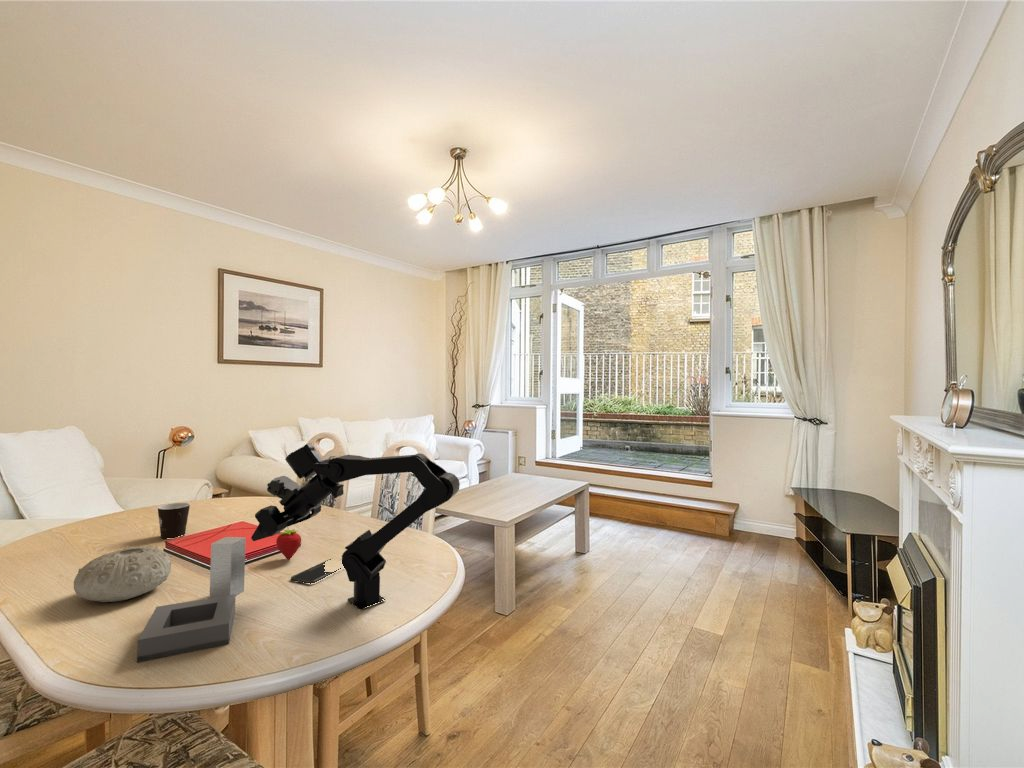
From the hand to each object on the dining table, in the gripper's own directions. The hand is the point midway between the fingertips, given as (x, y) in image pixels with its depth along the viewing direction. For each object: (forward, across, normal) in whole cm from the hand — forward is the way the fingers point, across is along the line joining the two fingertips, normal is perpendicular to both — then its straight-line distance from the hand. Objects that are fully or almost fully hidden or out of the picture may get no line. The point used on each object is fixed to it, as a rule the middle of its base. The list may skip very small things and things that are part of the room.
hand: (265, 533), depth 109 cm
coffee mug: (+53, -33, -26) cm, 67 cm away
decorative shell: (+34, +5, -10) cm, 36 cm away
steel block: (+16, +2, +6) cm, 17 cm away
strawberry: (+16, -21, +6) cm, 27 cm away
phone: (+5, -14, +16) cm, 22 cm away
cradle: (+11, +19, +10) cm, 24 cm away
